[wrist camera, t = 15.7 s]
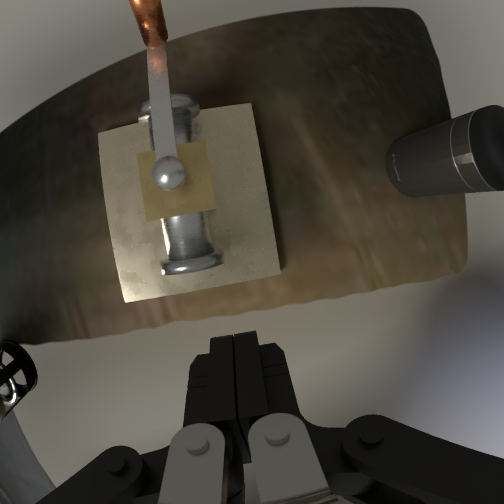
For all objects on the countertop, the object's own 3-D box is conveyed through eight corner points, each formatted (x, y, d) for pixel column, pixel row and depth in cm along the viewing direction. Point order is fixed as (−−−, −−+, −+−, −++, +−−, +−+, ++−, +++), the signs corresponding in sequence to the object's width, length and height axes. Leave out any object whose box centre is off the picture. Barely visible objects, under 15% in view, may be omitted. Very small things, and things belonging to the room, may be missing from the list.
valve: (249, 107, 37) (263, 67, 26) (278, 272, 40) (303, 292, 28) (101, 136, 35) (65, 108, 23) (128, 299, 37) (98, 328, 26)
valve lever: (188, 187, 26) (175, 170, 17) (157, 193, 25) (128, 179, 16) (170, 31, 24) (159, -28, 15) (143, 36, 23) (124, -20, 14)
